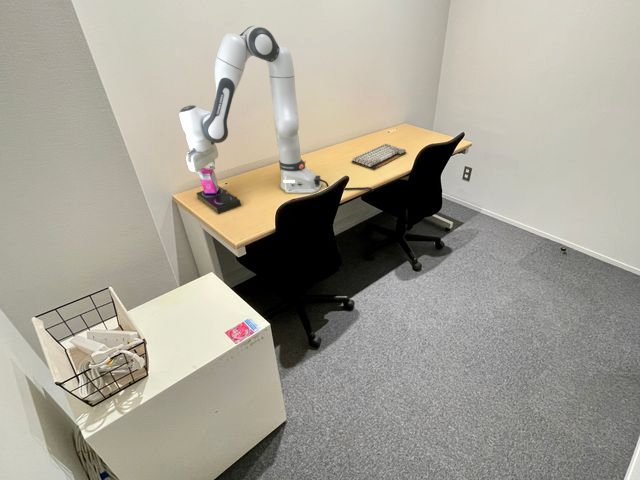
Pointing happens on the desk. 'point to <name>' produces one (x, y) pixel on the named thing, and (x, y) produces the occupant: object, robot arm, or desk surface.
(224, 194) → the hot plate
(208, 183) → the supplement box
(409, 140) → the desk surface
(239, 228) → the desk surface
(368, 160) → the mechanical keyboard
